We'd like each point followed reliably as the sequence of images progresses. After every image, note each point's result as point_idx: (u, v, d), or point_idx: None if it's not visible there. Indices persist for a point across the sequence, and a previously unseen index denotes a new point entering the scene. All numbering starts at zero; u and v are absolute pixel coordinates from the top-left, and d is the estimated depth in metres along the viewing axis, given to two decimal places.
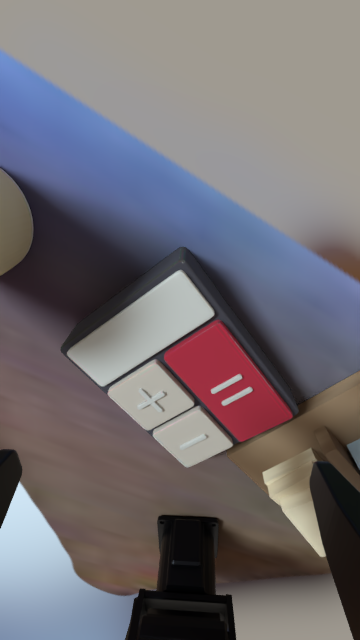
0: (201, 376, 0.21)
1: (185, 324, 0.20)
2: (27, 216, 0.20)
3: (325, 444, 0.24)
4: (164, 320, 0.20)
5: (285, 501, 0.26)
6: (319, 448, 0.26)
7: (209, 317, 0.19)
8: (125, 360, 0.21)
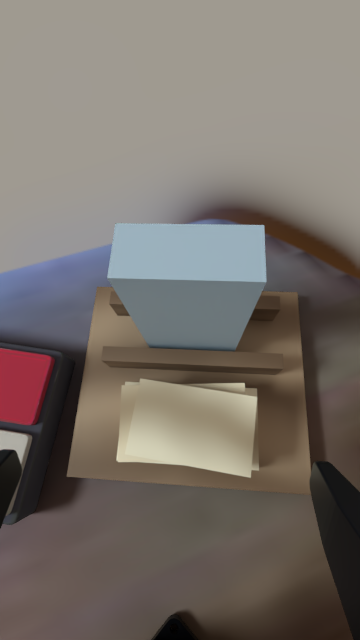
0: None
1: None
2: None
3: None
4: None
5: None
6: (136, 377, 0.23)
7: None
8: None
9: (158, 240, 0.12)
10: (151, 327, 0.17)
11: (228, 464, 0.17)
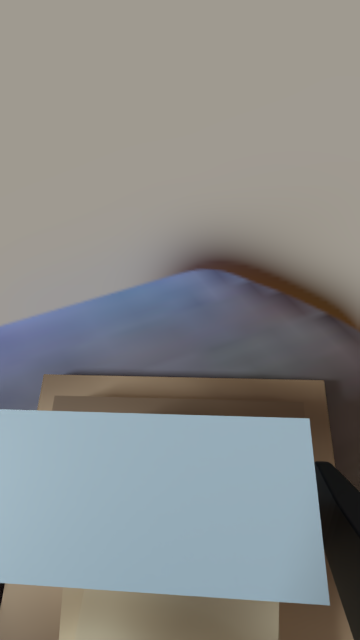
0: None
1: None
2: None
3: None
4: None
5: None
6: None
7: None
8: None
9: (61, 459, 0.05)
10: None
11: None
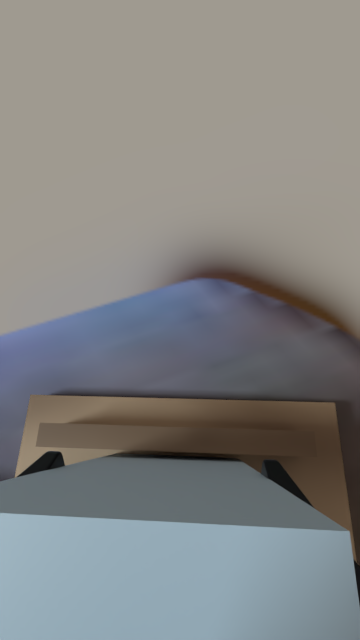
0: None
1: None
2: None
3: None
4: None
5: None
6: None
7: None
8: None
9: (9, 587, 0.04)
10: None
11: None
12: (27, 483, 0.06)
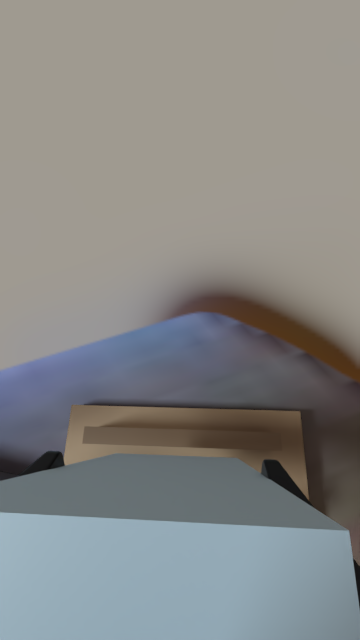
0: None
1: None
2: None
3: None
4: None
5: None
6: None
7: None
8: None
9: (9, 586, 0.04)
10: None
11: None
12: (27, 483, 0.06)
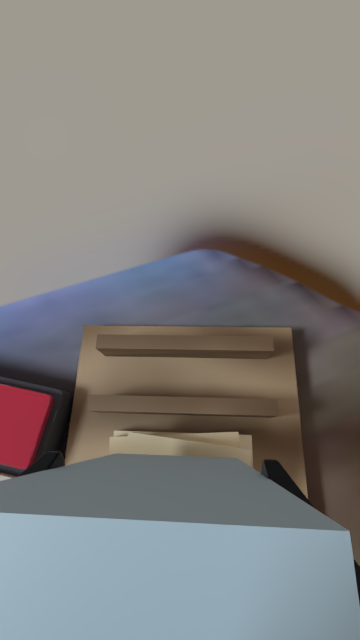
0: None
1: None
2: None
3: None
4: None
5: None
6: (125, 422, 0.22)
7: None
8: None
9: (9, 587, 0.04)
10: None
11: None
12: (27, 483, 0.06)
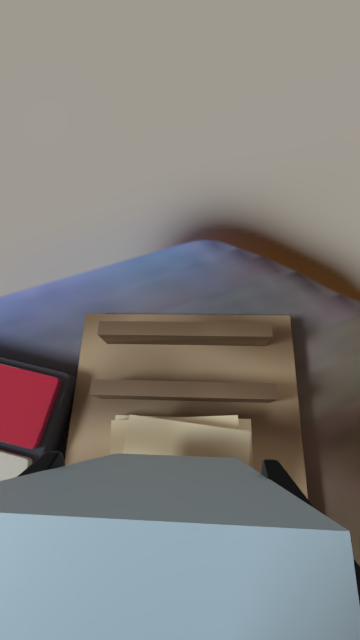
0: None
1: None
2: None
3: None
4: None
5: None
6: (127, 408, 0.22)
7: None
8: None
9: (9, 587, 0.04)
10: None
11: None
12: (27, 483, 0.06)
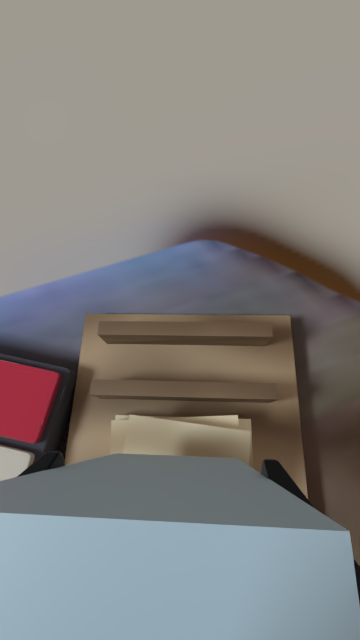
0: None
1: None
2: None
3: None
4: None
5: None
6: (127, 408, 0.22)
7: None
8: None
9: (9, 587, 0.04)
10: None
11: None
12: (27, 483, 0.06)
